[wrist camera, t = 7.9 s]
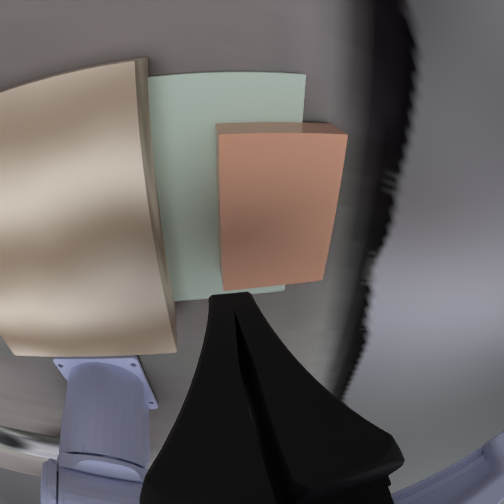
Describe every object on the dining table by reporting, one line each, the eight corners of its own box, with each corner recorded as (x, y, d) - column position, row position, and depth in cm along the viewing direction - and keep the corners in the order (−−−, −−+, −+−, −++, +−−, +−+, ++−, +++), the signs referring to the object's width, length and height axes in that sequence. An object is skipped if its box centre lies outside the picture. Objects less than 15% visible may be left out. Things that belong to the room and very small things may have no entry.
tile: (223, 291, 19) (219, 269, 20) (322, 280, 20) (312, 260, 21) (218, 134, 13) (215, 123, 15) (347, 134, 14) (331, 123, 16)
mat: (282, 285, 23) (284, 290, 22) (173, 296, 21) (173, 301, 21) (302, 73, 14) (306, 74, 14) (148, 76, 13) (147, 77, 13)
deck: (175, 306, 22) (177, 352, 19) (28, 314, 20) (14, 355, 17) (148, 57, 13) (134, 60, 9) (-44, 108, 11) (-86, 131, 7)
